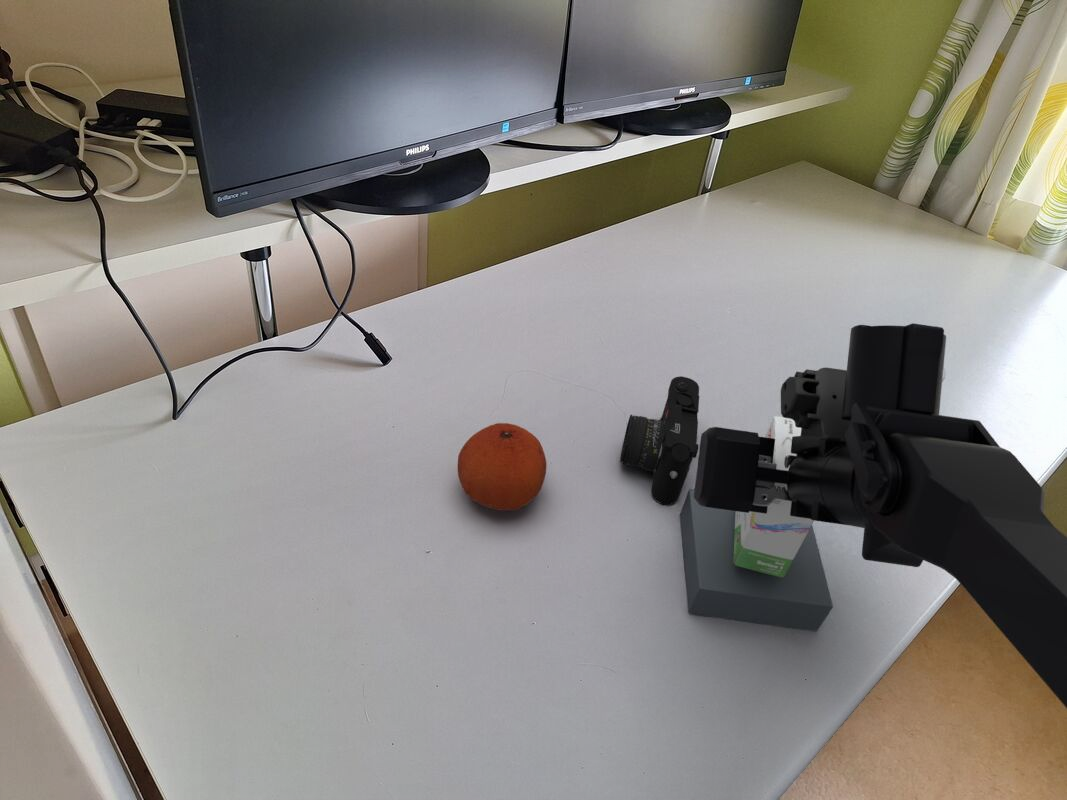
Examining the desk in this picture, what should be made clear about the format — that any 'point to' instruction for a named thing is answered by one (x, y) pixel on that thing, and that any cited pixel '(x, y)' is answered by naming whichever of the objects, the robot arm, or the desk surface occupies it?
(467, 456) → the fruit
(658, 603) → the desk surface
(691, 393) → the camera
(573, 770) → the desk surface
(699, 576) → the grey block
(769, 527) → the ink box
